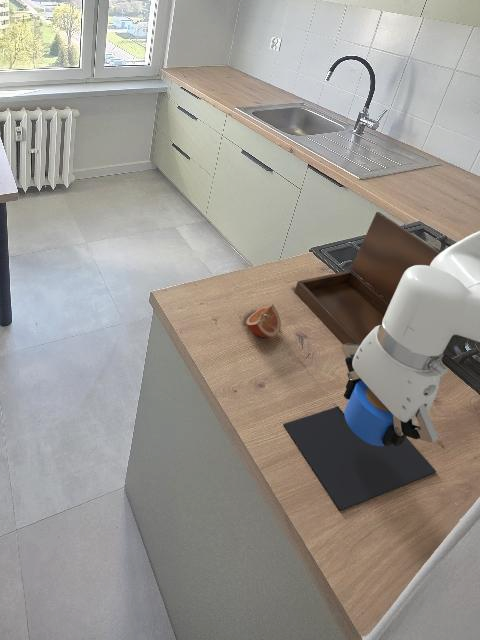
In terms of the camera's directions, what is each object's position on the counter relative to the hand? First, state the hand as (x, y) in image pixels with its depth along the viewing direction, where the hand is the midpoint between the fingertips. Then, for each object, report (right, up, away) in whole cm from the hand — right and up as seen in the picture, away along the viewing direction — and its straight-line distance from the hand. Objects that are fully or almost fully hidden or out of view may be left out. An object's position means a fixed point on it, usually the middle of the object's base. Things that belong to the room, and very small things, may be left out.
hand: (370, 417), depth 69 cm
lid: (+23, +16, +26) cm, 39 cm away
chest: (+15, +3, +29) cm, 33 cm away
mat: (0, -8, +3) cm, 8 cm away
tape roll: (0, -2, +1) cm, 2 cm away
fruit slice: (-8, +2, +25) cm, 26 cm away
